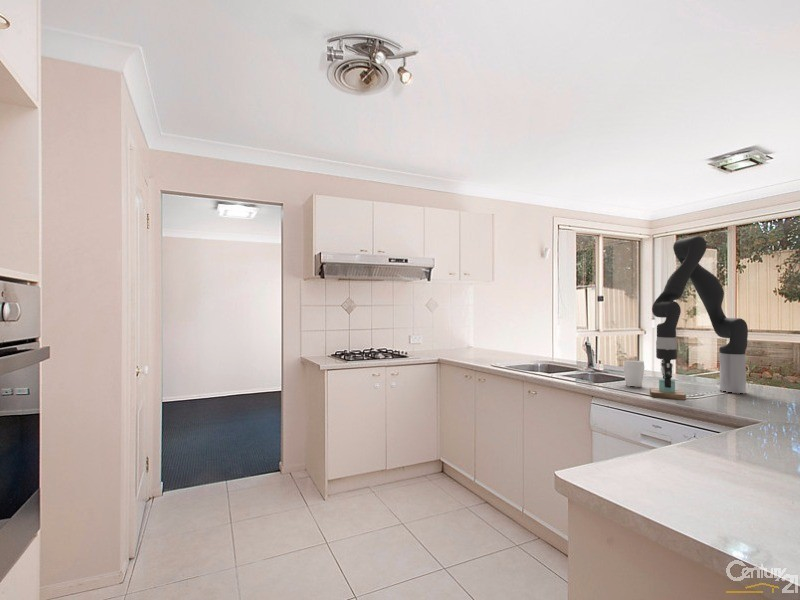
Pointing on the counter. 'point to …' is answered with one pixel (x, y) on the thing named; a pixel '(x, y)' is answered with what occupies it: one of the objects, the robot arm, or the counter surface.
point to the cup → (633, 372)
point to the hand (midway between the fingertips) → (666, 385)
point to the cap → (663, 388)
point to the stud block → (667, 394)
